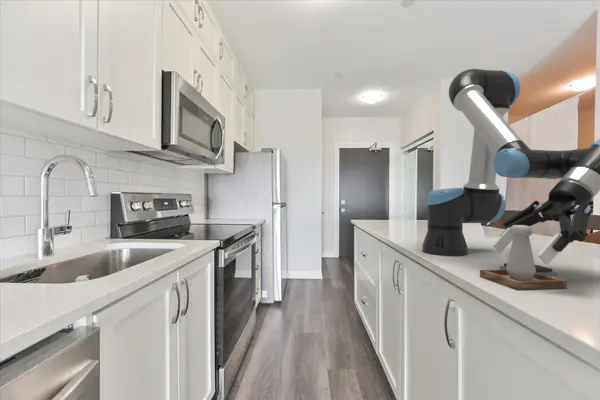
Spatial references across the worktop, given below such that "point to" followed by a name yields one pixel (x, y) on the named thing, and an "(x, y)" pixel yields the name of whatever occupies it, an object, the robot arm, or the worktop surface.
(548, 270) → the ink pad
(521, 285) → the tray
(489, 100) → the robot arm
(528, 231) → the salt shaker
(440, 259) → the worktop surface
